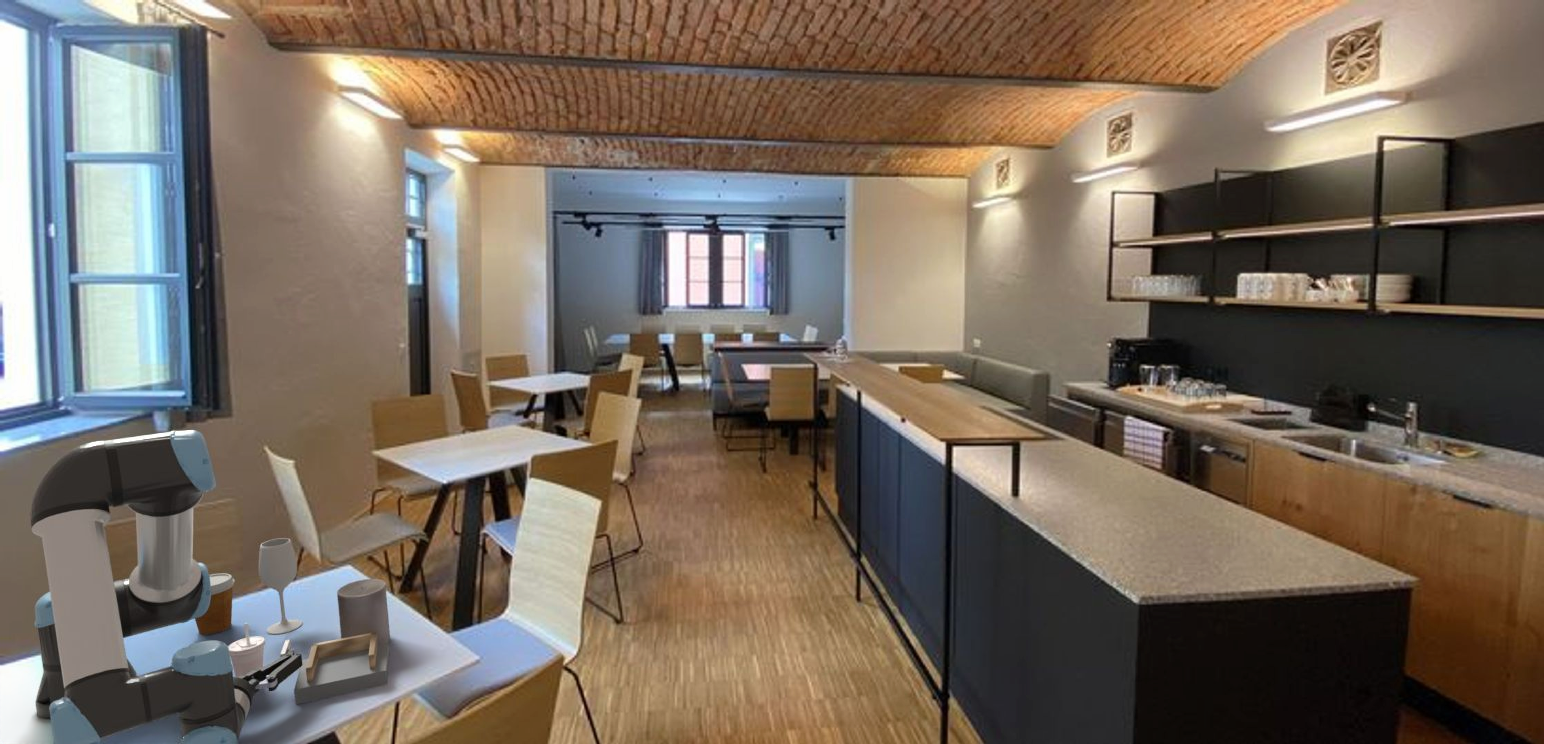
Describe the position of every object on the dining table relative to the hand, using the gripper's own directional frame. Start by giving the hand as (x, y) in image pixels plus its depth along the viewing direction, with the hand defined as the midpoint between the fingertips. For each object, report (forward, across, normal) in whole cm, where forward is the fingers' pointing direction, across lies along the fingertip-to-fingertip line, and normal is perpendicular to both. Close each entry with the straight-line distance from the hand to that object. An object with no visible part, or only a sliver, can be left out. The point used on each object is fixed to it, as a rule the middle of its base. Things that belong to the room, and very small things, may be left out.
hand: (248, 653), depth 154 cm
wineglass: (+29, +2, -8) cm, 30 cm away
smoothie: (0, 0, -8) cm, 8 cm away
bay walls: (-4, +17, -4) cm, 18 cm away
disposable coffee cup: (+36, -13, -8) cm, 39 cm away
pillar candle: (+10, +20, -8) cm, 24 cm away
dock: (-5, +17, -7) cm, 19 cm away
